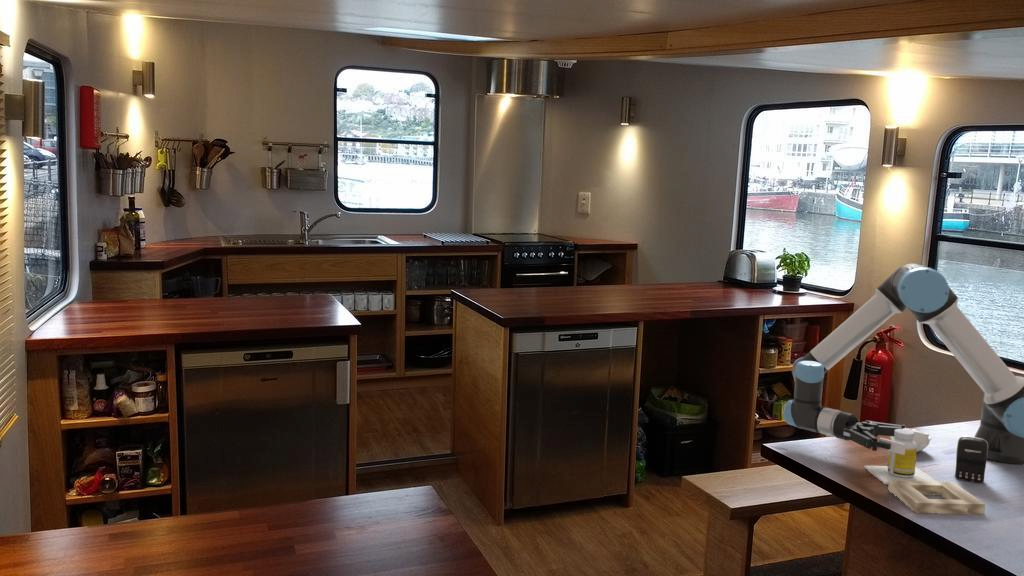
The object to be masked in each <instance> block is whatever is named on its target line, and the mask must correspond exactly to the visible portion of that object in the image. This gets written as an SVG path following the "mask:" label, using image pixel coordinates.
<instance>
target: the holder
mask: <svg viewBox="0 0 1024 576" xmlns="http://www.w3.org/2000/svg"><path fill="white" fill-rule="evenodd" d="M887 488H888V489H887V490H889V493H891V494H892V493H893V494H894V495H893V494H892V495H893V496H895V497H896V496H897V497H898V498H899V499H900V500H899V499H898V498H897V497H896V498H897V499H898V500H899V501H900V502H902V501H903V502H904V503H905V506H906V507H908V506H909V507H910V508H911V509H910V508H909V507H908V508H909V509H910V510H911V511H912V512H914V511H915V512H916V513H915V512H914V513H915V514H935V513H937V514H939V515H940V514H941V515H943V514H945V515H946V514H948V515H985V512H986V511H985V510H986V503H984V502H982V501H981V500H980V499H978V498H976V497H975V496H974V495H972V494H971V493H969V492H968V491H967V490H965V489H963V488H962V487H961V486H960V485H958V484H956V483H955V482H954V481H937V482H927V481H889V484H888V487H887ZM923 494H935V495H934V496H941V497H943V499H942V498H941V499H940V498H937V499H936V498H935V499H934V498H928V497H926V495H923ZM903 502H902V503H903ZM904 503H903V504H904Z"/></svg>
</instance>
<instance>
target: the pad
mask: <svg viewBox="0 0 1024 576" xmlns="http://www.w3.org/2000/svg"><path fill="white" fill-rule="evenodd" d="M863 466H864V467H863V468H864V469H865V470H866V469H867V470H866V471H868V472H869V473H870V474H872V475H873V477H875V478H876V479H878V481H880V482H881V481H882V482H883V483H882V482H881V483H882V484H883V485H889V481H927V482H938V481H937V480H935V479H934V478H933V477H932V476H930V475H928V474H927V473H925V472H924V471H922V469H920V468H919V467H917V466H915V474H914V476H913V477H909V478H904V477H898V476H894V475H892V474H890V473H889V472H888V465H863Z"/></svg>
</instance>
